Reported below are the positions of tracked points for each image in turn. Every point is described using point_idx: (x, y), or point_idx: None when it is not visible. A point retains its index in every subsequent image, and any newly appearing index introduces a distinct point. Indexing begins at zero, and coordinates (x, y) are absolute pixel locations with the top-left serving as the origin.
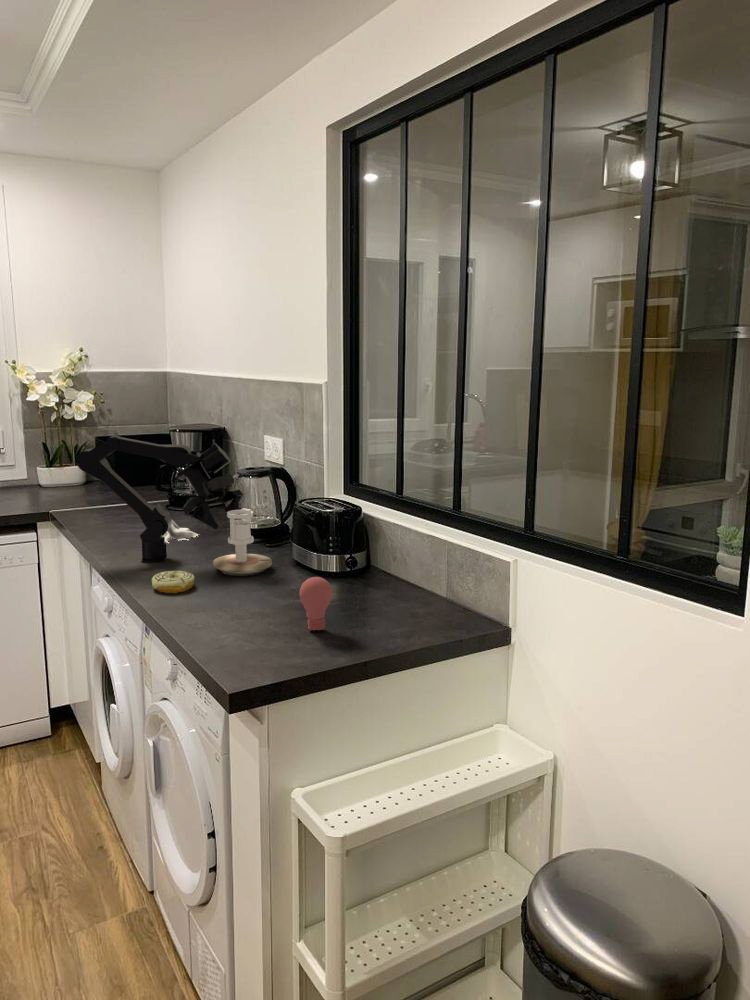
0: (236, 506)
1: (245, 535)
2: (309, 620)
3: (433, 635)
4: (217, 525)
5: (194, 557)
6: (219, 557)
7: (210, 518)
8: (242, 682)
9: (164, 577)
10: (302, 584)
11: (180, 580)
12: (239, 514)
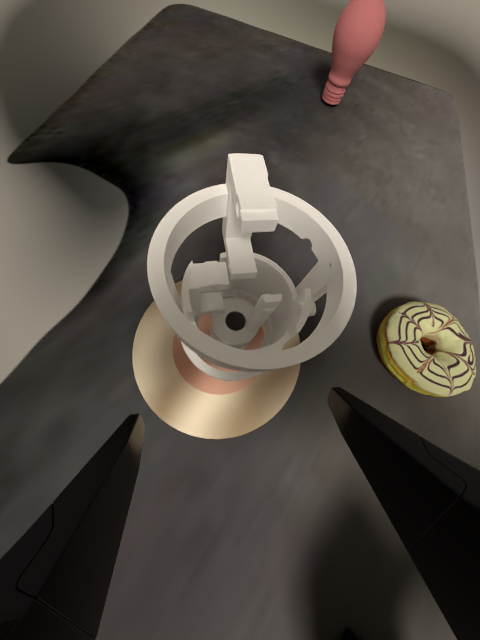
0: (12, 590)
1: (244, 280)
2: (345, 87)
3: (246, 34)
4: (339, 393)
5: (231, 609)
6: (245, 429)
7: (409, 433)
8: (443, 97)
9: (461, 341)
10: (383, 20)
11: (432, 306)
12: (92, 466)
